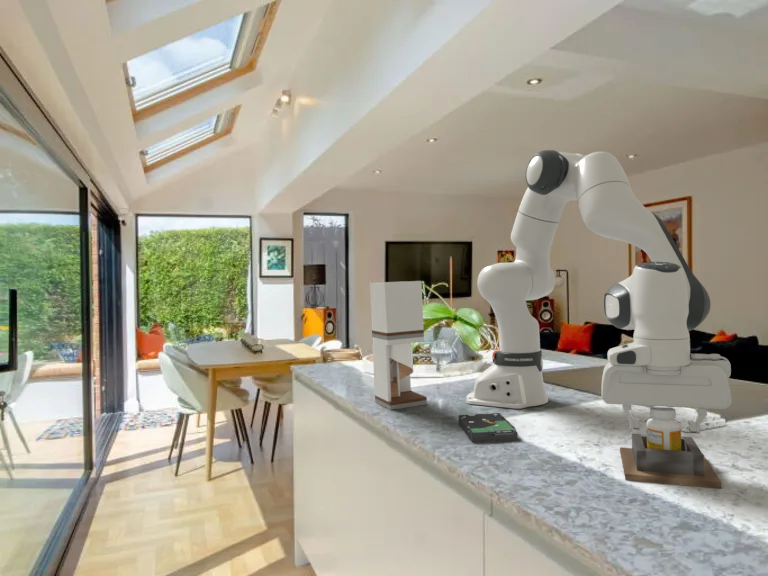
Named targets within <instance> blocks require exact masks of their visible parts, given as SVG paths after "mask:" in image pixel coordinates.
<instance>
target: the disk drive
mask: <svg viewBox="0 0 768 576" xmlns="http://www.w3.org/2000/svg"><path fill="white" fill-rule="evenodd" d="M458 424H459V427H461V429H462V431H463V432H464V433H465V435H466V436H467V438H468V439H469V441H470V443H474V444H476V443H488V442H489V443H490V442H492V443H493V442H504V441H506V442H507V441H518V440H519V437H518V435H519V433H518V432H517V429H516V427H515V426H514V425H513V424H511V422H509V420H508V419H506V418H505V417H504V416H503V415H502V414H501V413H499V412H495V413H494V412H492V413H476V414H474V415H469V414H459V415H458Z"/></svg>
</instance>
